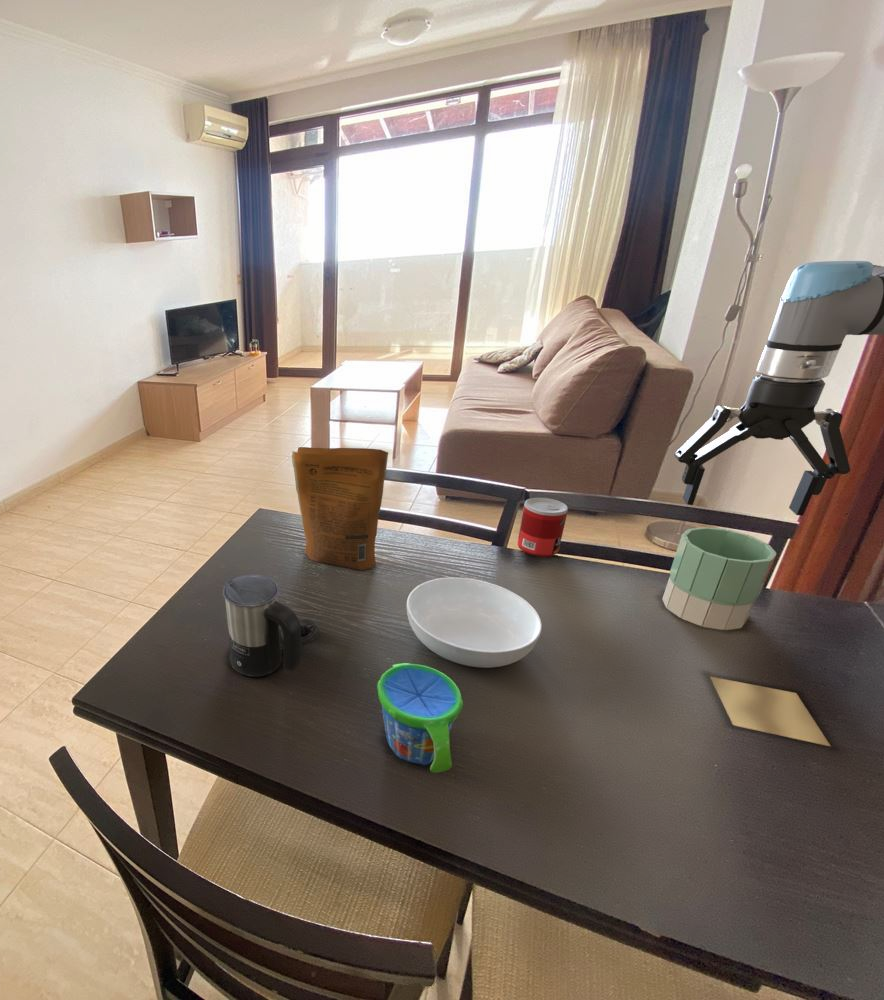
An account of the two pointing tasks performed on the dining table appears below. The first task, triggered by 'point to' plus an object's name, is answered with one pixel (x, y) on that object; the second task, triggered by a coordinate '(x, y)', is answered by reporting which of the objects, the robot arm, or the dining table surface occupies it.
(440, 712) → the snack cup
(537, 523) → the canned food
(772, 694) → the placemat
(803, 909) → the dining table surface
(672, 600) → the cream bowl
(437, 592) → the serving bowl
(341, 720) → the dining table surface
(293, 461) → the pancake mix bag
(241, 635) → the milk frother
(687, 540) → the green bowl
